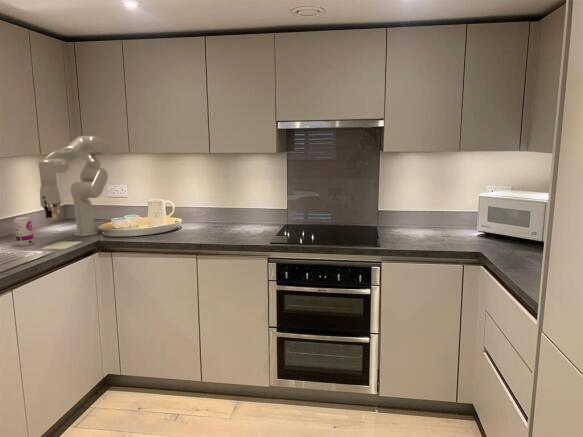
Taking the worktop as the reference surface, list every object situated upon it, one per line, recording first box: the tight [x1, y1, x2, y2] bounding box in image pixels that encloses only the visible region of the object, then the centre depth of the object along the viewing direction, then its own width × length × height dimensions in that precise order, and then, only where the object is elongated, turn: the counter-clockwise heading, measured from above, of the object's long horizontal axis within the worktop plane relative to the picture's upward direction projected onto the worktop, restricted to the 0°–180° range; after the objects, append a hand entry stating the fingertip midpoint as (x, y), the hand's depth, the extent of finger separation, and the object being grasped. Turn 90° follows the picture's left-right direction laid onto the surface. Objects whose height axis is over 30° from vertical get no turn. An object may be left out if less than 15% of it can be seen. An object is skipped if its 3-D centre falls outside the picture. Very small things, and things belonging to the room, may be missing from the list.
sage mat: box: [40, 241, 83, 250], centre depth 242 cm, size 16×14×1 cm
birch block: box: [44, 206, 61, 220], centre depth 242 cm, size 5×5×6 cm
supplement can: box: [13, 216, 35, 247], centre depth 245 cm, size 8×8×15 cm
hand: (52, 216), depth 242 cm, fingers closed on birch block, 5 cm apart
